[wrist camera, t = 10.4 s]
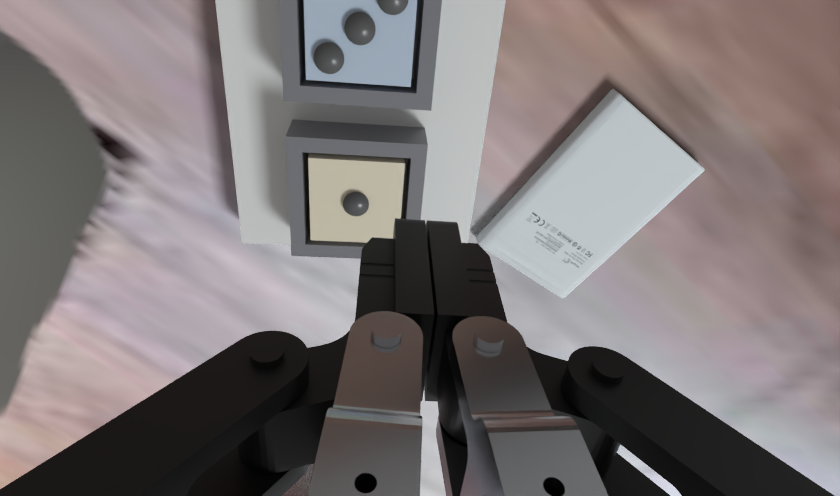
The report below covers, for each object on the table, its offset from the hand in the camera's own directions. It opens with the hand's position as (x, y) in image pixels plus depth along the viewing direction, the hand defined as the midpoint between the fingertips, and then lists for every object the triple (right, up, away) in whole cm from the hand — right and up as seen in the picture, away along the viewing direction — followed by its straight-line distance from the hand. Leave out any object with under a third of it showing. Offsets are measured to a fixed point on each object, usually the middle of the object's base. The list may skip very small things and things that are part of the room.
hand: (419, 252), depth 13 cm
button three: (-3, +11, +14) cm, 18 cm away
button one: (-4, +4, +18) cm, 19 cm away
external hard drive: (+11, +3, +23) cm, 25 cm away
